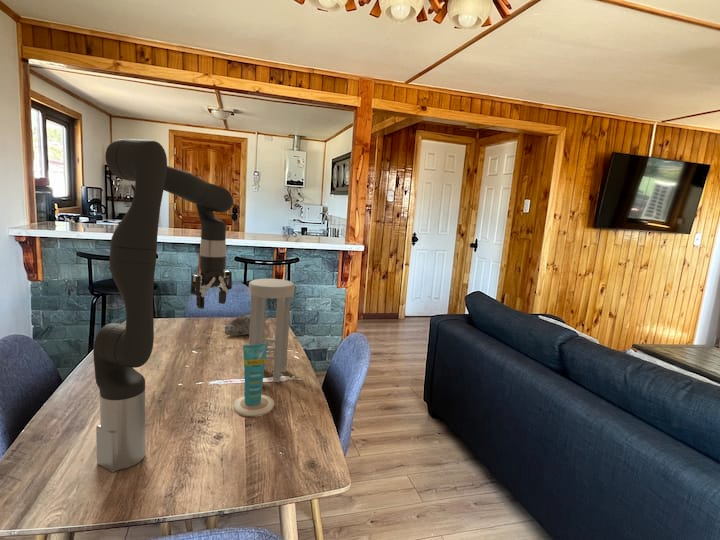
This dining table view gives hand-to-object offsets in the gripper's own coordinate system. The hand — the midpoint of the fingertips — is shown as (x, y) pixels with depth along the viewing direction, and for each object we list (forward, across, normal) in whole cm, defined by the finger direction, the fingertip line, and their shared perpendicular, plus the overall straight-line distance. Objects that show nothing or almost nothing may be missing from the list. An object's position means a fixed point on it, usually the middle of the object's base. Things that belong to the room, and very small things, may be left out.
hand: (211, 305), depth 128 cm
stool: (+30, +24, -4) cm, 39 cm away
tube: (+29, +3, -16) cm, 33 cm away
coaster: (+30, +3, -16) cm, 34 cm away
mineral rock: (+30, +52, +36) cm, 70 cm away
